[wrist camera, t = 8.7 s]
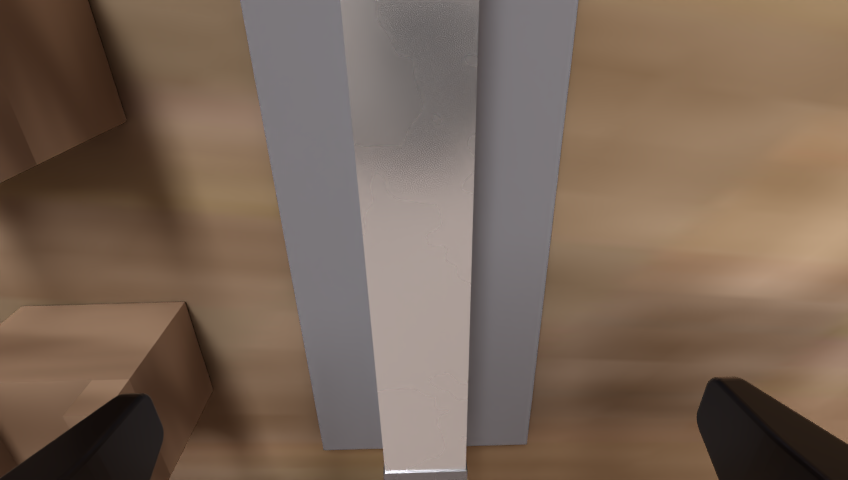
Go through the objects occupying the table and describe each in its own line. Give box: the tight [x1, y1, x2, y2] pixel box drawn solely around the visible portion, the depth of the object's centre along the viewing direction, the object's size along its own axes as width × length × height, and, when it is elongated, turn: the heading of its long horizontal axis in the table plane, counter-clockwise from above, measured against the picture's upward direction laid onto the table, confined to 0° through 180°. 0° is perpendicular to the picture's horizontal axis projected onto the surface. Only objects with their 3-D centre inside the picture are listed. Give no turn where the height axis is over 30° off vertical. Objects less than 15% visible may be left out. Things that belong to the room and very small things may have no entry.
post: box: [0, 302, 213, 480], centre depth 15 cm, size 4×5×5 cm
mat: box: [240, 0, 578, 450], centre depth 14 cm, size 20×8×1 cm, turn 1°
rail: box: [340, 0, 479, 480], centre depth 13 cm, size 17×3×3 cm, turn 1°
